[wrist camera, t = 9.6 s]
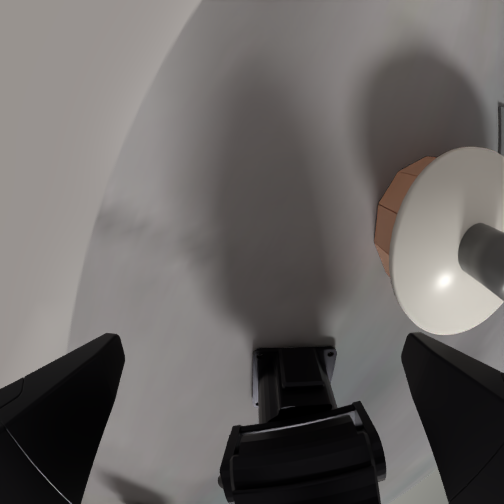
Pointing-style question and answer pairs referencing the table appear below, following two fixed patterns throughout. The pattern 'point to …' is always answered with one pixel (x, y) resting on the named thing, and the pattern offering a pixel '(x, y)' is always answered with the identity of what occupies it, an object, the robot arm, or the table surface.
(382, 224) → the bowl
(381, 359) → the table surface
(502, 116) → the mat
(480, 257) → the lid
